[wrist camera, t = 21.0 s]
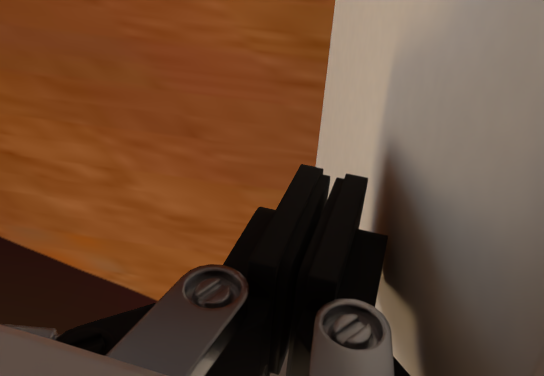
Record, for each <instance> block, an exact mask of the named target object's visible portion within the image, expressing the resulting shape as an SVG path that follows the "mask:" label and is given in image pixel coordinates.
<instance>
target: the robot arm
mask: <svg viewBox="0 0 544 376" xmlns="http://www.w3.org/2000/svg"><path fill="white" fill-rule="evenodd" d="M367 183H368V178H367V177H362V176H357V175H352V174H347V173H346V175H345V178H344V179H343V178H338V177H337V178H336V180H335V182H334V185H333V187H332V190H331V192H330V195H329V197H328V192H329V185H330V176H328V175H323V168H318V167H313V166H308V165H303V164H301V166H300V167H299V169H298V171H297V173H296V175H295V176H294V178H293V180H292V182H291V184H290V185H289V187H288V189H287V191H286V193H285V194H284V196H283V198H282V200H281V202H280V204H279V205H278V207H277V209H276V210H273V209H268V208H264V207H259V208H258V209H257V210H256V212H255V213H254V215H253V217H252V218H251V220H250V221H249V223H248V225H247V226H246V228H245V230H244V231H243V233H242V234H241V236H240V238H239V239H238V241H237V243H236V244H235V246H234V248H233V249H232V251H231V252H230V254H229V256H228V257H227V259H226V261H225V262H224V264H223V265H214V264H210V265H204V266H199V267H197V268H194V269H192V270H190V271H189V272H187V273H186V274H185V275H183V276H182V277H181V278H180V279H179V280H178V281H177V282H176V283H175V284H174V286H173V287H172V288H171V289H170V290H169V291H168V292H167V293H166V294H165V295H164V296H163V297H162V298H161V299H160V300H159V301H158V302H157V303H153V304H150V305H147V306H144V307H140V308H137V309H134V310H131V311H127V312H124V313H120V314H117V315H114V316H111V317H107V318H104V319H100V320H97V321H94V322H91V323H87V324H84V325H81V326H77V327H75V328H73V329H70V330H68V331H66V332H65V333H63V334H62V335H57V331H56V329H53V328H42V327H30V326H19V325H8V324H0V376H270V374H271V373H273V374H276V375H279V373H280V371H281V368H282V366H283V363H284V360H285V357H286V354H287V352H288V359H287V368H286V376H410V375H409V373H408V372H407V371H406V370H405V369H404V368H403V367H402V365H401V364H400V363H399V362H398V361H397V360H396V358H395V357H394V356H393V347H392V332H391V328H390V324H389V322H388V320H387V319H386V318H385V316H384V315H383V314H382V313H381V312H380V311H379V310H378V309H377V308H375V305H376V299H377V294H378V288H379V283H380V278H381V272H382V267H383V262H384V256H385V251H386V245H387V240H388V236H387V235H383V234H379V233H374V232H370V231H365V230H361V229H359V226H360V220H361V215H362V210H363V205H364V199H365V194H366V189H367ZM288 349H289V351H288Z"/></svg>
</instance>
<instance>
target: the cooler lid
mask: <svg viewBox="0 0 544 376" xmlns="http://www.w3.org/2000/svg"><path fill="white" fill-rule="evenodd" d="M316 167H318V168H323V175H328V176H330V185H329V192H328V197H329V195H330V192H331V190H332V187H333V185H334V182H335V180H336V178H337V177H338V178H343V179H344V178H345V175H346V173H347V174H352V175H357V176H362V177H367V178H368V183H367V189H366V194H365V199H364V205H363V210H362V215H361V220H360V226H359V229H361V230H365V231H370V232H374V233H379V234H383V235H387V236H388V240H387V245H386V251H385V256H384V262H383V267H382V272H381V278H380V283H379V288H378V294H377V299H376V305H375V308H377V309H378V310H379V311H380V312H381V313H382V314H383V315H384V316H385V318H386V319H387V320H388V322H389V324H390V328H391V332H392V347H393V356H394V357H395V358H396V360H397V361H398V362H399V363H400V364H401V365H402V367H403V368H404V369H405V370H406V371H407V372H408V373H409V375H410V376H544V0H336V1H335V9H334V18H333V26H332V35H331V43H330V51H329V60H328V68H327V77H326V85H325V93H324V102H323V110H322V119H321V127H320V135H319V144H318V152H317V161H316Z"/></svg>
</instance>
